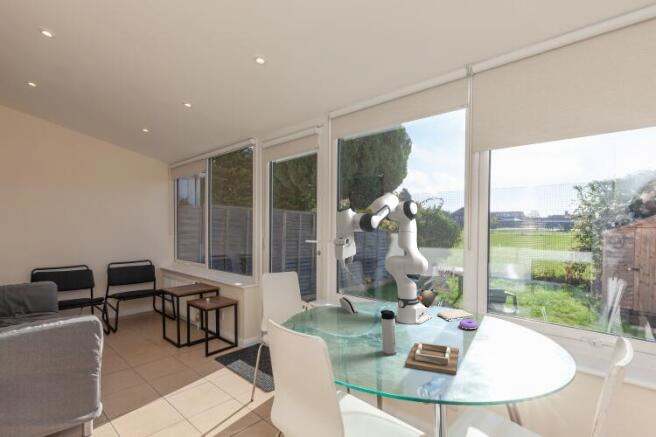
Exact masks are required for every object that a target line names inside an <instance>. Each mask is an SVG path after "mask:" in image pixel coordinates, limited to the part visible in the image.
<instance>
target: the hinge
mask: <svg viewBox="0 0 656 437" xmlns="http://www.w3.org/2000/svg"><path fill="white" fill-rule="evenodd" d="M338 300H339V303H340V306H341V308H342V309H344V310H345V311H346V312H348V313H350V314H351V315H354V313H359V311H358V310H357V309H356V307H355V306H354V305H355V304H354V303H353V301H352V300H351V299H350V298H349V297H347V296H343V297H340V298H339V299H338Z"/></svg>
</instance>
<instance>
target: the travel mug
mask: <svg viewBox="0 0 656 437" xmlns="http://www.w3.org/2000/svg"><path fill="white" fill-rule="evenodd" d="M379 312H380V315H381V318H380V319H381V334H382V336H381V338H382V340H381V341H382V353H383V354H384V355H387V356H394V355H396V354H397V337H396V319H395V318H396V315H395V312H394V311H393V310H390V309H382V310H380V311H379Z"/></svg>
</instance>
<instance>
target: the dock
mask: <svg viewBox="0 0 656 437" xmlns="http://www.w3.org/2000/svg"><path fill="white" fill-rule="evenodd" d="M458 354H459V355H460V348H457V347H451V345H444V344H438V343H437V344H436V343H429V342H421V341H420V342H419V343H418V342H415V343H414V344H413V347H412V349H411V350H410V353H409V355H408V358H407V360H406V362H405V367H406V368H413V369H418V370H424V371H430V372H437V373H442V374H443V373H444V374H450V375H457V371H458V364H457V363H459V362H458V361H459V356H458Z"/></svg>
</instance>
